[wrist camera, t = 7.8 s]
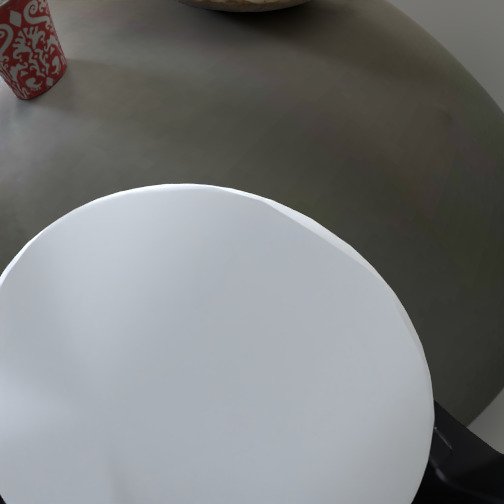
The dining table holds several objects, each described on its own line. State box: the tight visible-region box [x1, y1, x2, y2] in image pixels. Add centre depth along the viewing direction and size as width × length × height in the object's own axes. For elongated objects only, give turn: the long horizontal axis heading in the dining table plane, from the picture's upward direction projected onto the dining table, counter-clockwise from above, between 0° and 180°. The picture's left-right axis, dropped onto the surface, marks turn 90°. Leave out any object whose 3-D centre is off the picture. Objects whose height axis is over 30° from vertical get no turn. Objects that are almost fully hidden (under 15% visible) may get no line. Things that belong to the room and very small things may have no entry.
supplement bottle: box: [0, 184, 434, 504], centre depth 8 cm, size 7×7×13 cm
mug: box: [0, 0, 67, 99], centre depth 20 cm, size 13×9×14 cm
